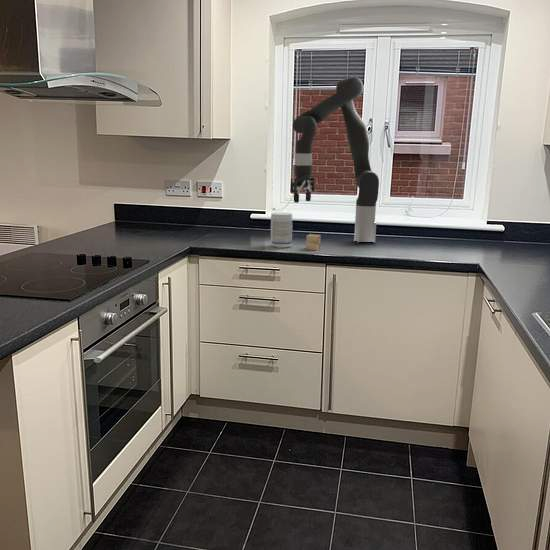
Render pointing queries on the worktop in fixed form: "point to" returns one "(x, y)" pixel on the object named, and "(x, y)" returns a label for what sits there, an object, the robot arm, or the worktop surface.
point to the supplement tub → (281, 230)
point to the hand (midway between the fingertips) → (302, 201)
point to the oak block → (313, 242)
